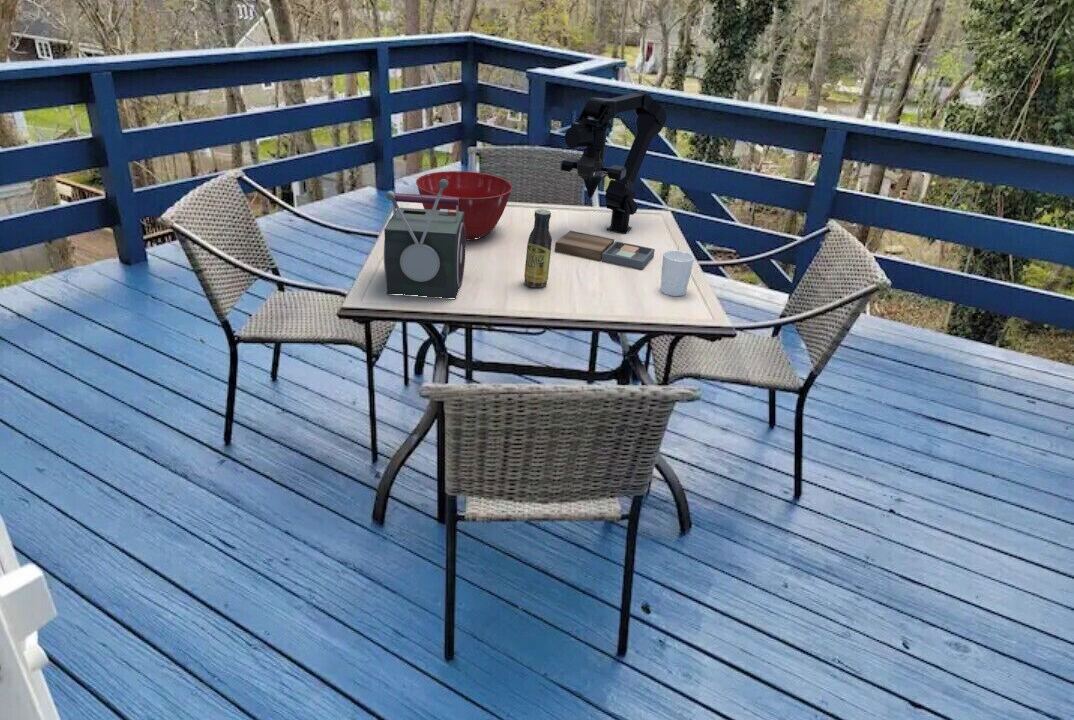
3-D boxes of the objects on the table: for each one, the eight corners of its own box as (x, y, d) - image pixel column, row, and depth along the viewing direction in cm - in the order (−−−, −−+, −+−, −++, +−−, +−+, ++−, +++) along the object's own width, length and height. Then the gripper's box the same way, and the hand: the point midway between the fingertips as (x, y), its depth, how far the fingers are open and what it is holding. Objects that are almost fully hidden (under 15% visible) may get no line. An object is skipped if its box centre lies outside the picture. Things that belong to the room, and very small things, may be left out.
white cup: (670, 283, 204) (675, 248, 199) (694, 292, 199) (700, 256, 194) (652, 290, 199) (657, 254, 194) (676, 299, 194) (682, 263, 189)
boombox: (465, 271, 202) (467, 159, 188) (456, 303, 184) (457, 182, 169) (398, 267, 202) (395, 155, 188) (382, 298, 184) (377, 177, 169)
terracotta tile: (639, 247, 219) (638, 254, 220) (624, 244, 220) (623, 251, 221) (634, 252, 215) (633, 258, 216) (619, 249, 217) (618, 255, 218)
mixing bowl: (496, 216, 245) (497, 169, 237) (521, 246, 221) (524, 195, 214) (409, 220, 236) (408, 171, 229) (426, 252, 213) (426, 198, 205)
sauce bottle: (519, 285, 196) (523, 211, 186) (531, 277, 201) (535, 205, 191) (541, 291, 193) (546, 216, 184) (552, 283, 198) (558, 210, 189)
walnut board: (569, 239, 229) (570, 230, 227) (613, 248, 224) (614, 239, 223) (554, 251, 219) (555, 242, 218) (600, 261, 215) (601, 251, 213)
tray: (614, 249, 224) (615, 241, 223) (653, 257, 220) (654, 248, 219) (601, 261, 214) (602, 253, 213) (642, 270, 211) (643, 261, 209)
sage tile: (635, 253, 215) (634, 259, 216) (621, 249, 216) (620, 256, 217) (630, 257, 211) (629, 264, 212) (615, 254, 213) (614, 261, 214)
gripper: (555, 144, 214) (551, 198, 221) (617, 154, 207) (611, 209, 215) (569, 137, 223) (565, 189, 230) (629, 147, 217) (623, 200, 224)
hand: (590, 197), depth 225 cm, fingers closed
